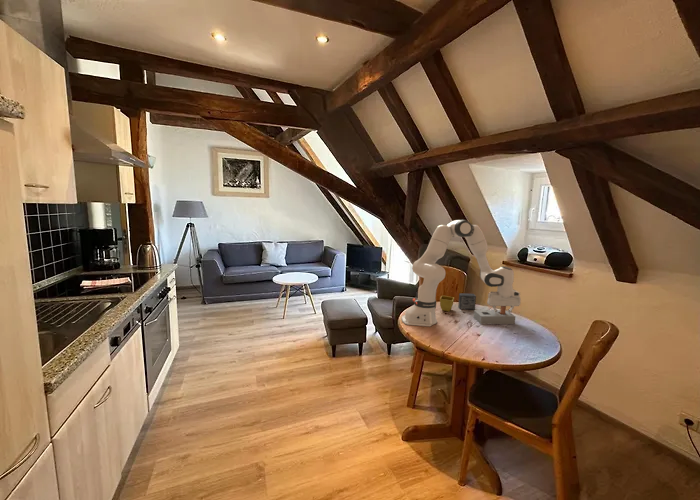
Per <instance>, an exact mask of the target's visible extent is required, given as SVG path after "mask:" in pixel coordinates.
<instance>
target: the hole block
mask: <svg viewBox="0 0 700 500" xmlns="http://www.w3.org/2000/svg"><path fill="white" fill-rule="evenodd" d="M473 318H474V320H476V321H477V323H479V324H480V325H515V324H516V316H515V315H514V314H512V312H511V313H509V312H508V309H506V311H505V315H501V314H500V309H499V310H498V309H497V312H494V309H493V310H492V309H491V310H490V309H487V310H485V309H484V310H483V309H482V310H481V309H475V310H473Z"/></svg>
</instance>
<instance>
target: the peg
mask: <svg viewBox="0 0 700 500" xmlns="http://www.w3.org/2000/svg"><path fill="white" fill-rule="evenodd" d="M506 308H507V306H500V309H499V310H500V314H501V315H505V311H506V310H507V309H506Z"/></svg>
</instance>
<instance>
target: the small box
mask: <svg viewBox="0 0 700 500" xmlns="http://www.w3.org/2000/svg"><path fill="white" fill-rule="evenodd" d="M458 294H459V295H458V308H459V310H466V311H474V310H476V300H477V296H476V294H475V293H461V292H460V293H458Z"/></svg>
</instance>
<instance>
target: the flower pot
mask: <svg viewBox="0 0 700 500" xmlns="http://www.w3.org/2000/svg"><path fill="white" fill-rule="evenodd" d="M454 303H455V297H453V296H447V295H441V296H440V298H439V307H440V309H441V311H444V312H451V310H452V308H453V306H454Z"/></svg>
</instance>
